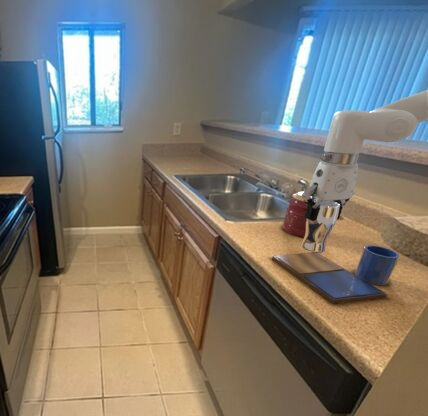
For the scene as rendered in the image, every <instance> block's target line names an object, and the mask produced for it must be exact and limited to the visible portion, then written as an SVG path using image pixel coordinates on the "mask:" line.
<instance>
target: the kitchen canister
mask: <svg viewBox="0 0 428 416" xmlns="http://www.w3.org/2000/svg"><path fill="white" fill-rule="evenodd" d="M304 192H305V191H298V192H296V193H293V194H292V196H291V198H290V199H289V198H288V206H287V207H286V211H285V215H284V220H283V222H282V229H283V230H284V231H285V232H287V233H288V234H291V235H293V236H296V237H301V238H304V237H305V232H306V218H305V213H306V209H307V205H306V203H305V201H304V199H303V197H302V193H304ZM310 197H311V196H310Z"/></svg>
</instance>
